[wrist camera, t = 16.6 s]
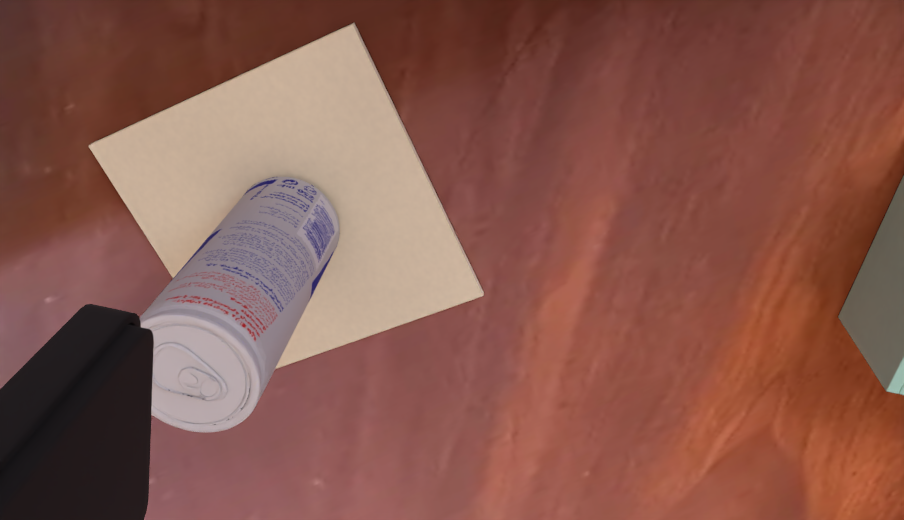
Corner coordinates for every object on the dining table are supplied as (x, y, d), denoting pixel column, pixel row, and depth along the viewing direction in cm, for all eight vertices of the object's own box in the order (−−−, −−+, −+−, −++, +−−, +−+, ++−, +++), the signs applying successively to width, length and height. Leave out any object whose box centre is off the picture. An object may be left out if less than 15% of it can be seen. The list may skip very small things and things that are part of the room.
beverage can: (230, 176, 45) (97, 316, 31) (333, 169, 44) (243, 311, 30) (250, 270, 47) (136, 438, 34) (348, 265, 46) (272, 435, 33)
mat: (91, 143, 45) (87, 145, 45) (354, 22, 41) (352, 23, 40) (241, 378, 51) (238, 382, 50) (484, 292, 47) (484, 296, 46)
